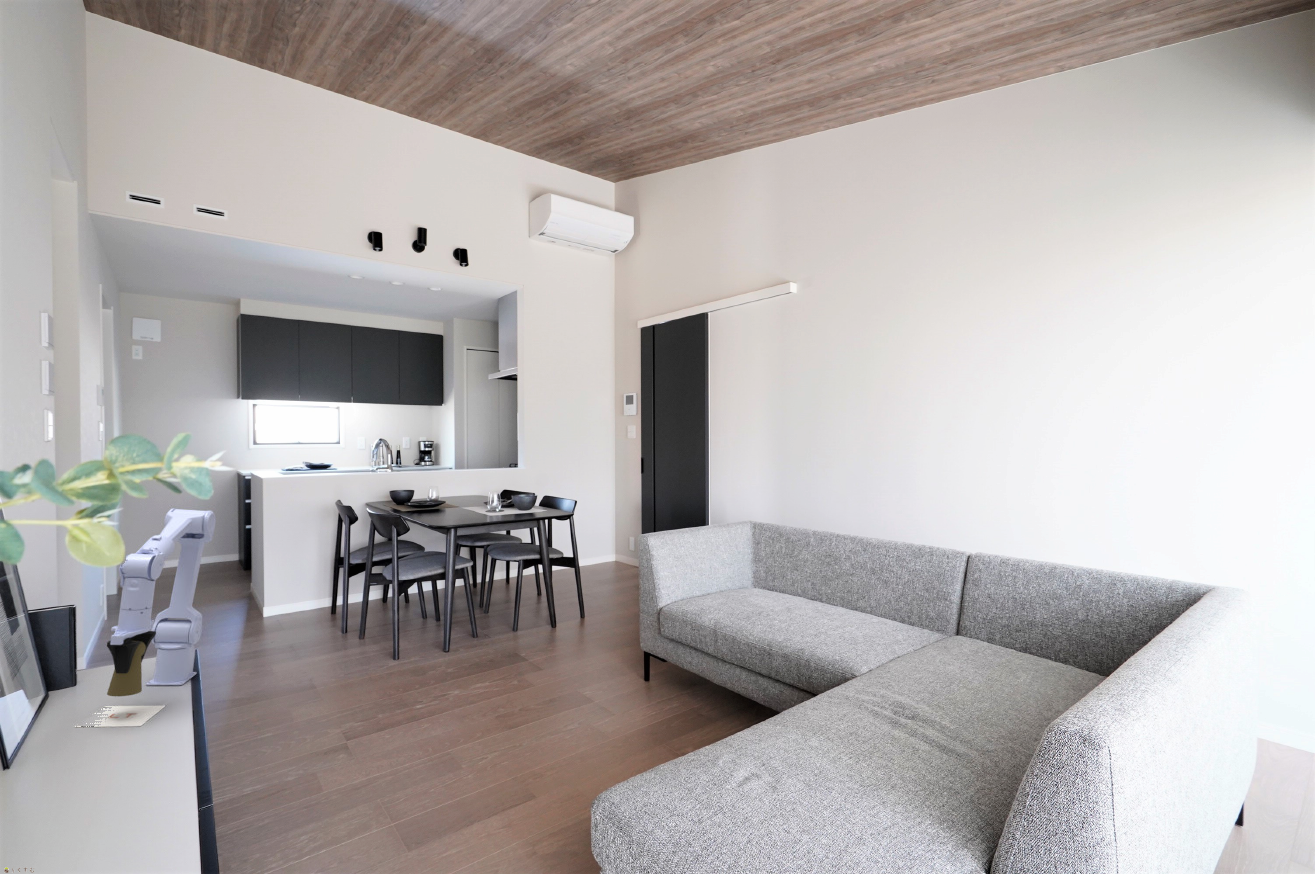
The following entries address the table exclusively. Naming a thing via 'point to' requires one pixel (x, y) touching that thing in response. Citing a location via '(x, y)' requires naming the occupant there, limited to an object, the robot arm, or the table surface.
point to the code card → (127, 716)
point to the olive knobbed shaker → (128, 677)
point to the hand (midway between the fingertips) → (128, 668)
